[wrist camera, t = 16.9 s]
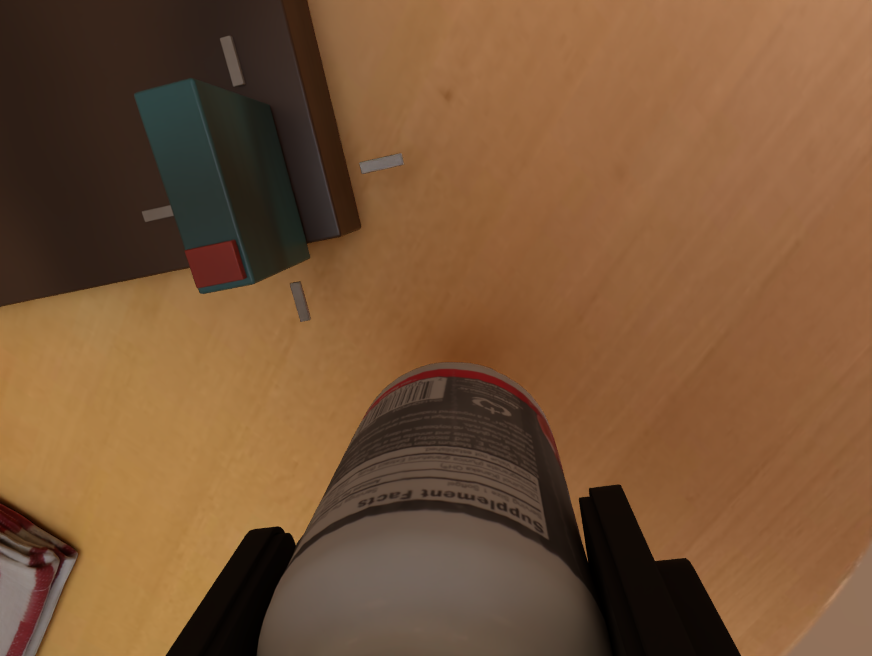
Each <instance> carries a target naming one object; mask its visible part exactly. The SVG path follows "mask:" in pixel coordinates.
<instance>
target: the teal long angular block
mask: <svg viewBox="0 0 872 656" xmlns="http://www.w3.org/2000/svg"><path fill="white" fill-rule="evenodd" d="M134 98H135V101H136V104H137V107H138V110H139V113H140V116H141V119H142V122H143V125H144V128H145V131H146V134H147V137H148V140H149V143H150V146H151V149H152V152H153V155H154V158H155V161H156V164H157V167H158V170H159V173H160V176H161V179H162V182H163V185H164V188H165V191H166V194H167V197H168V200H169V203H170V206H171V209H172V212H173V215H174V218H175V221H176V224H177V227H178V230H179V233H180V236H181V239H182V242H183V245H184V248H185V254H186V257H187V260H188V263H189V266H190V269H191V272H192V275H193V278H194V281H195V284H196V287H197V288H198V290H199V292H200V293H201V294H206V293H211V292H216V291H222V290H227V289H232V288H237V287H242V286H247V285H252V284H255V283H257V282H260V281H262V280H264V279H266V278H268V277H270V276H273V275H275V274H277V273H279V272H281V271H283V270H286V269H288V268H290V267H292V266H294V265H297V264H299V263H301V262H303V261H305V260H307V259H309V258H310V254H309V250H308V246H307V243H306V239H305V235H304V231H303V228H302V224H301V220H300V217H299V213H298V209H297V205H296V202H295V198H294V194H293V191H292V187H291V183H290V179H289V176H288V172H287V168H286V165H285V161H284V157H283V153H282V150H281V146H280V142H279V139H278V135H277V131H276V128H275V124H274V120H273V116H272V113H271V109H270V106H269V104H266V103H263V102H260V101H257V100H255V99H252V98H249V97H246V96H243V95H240V94H237V93H234V92H231V91H228V90H225V89H223V88H220V87H217V86H214V85H211V84H208V83H205V82H202V81H199V80H196V79H193V78H189V79H185V80H181V81H178V82H174V83H170V84H166V85H162V86H159V87H155V88H151V89H147V90H143V91H139V92H136V93H135V94H134Z"/></svg>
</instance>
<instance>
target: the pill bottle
mask: <svg viewBox="0 0 872 656" xmlns="http://www.w3.org/2000/svg"><path fill="white" fill-rule="evenodd" d="M257 656H613V653H612V647H611V642H610V637H609V631H608V626H607V622H606V619H605V616H604V613H603V610H602V607H601V604H600V600H599V597H598V594H597V590H596V587H595V584H594V581H593V578H592V574H591V571H590V568H589V564H588V561H587V558H586V554H585V551H584V548H583V544H582V541H581V537H580V533H579V529H578V526H577V522H576V519H575V514H574V511H573V508H572V504H571V500H570V496H569V492H568V488H567V484H566V481H565V477H564V473H563V469H562V465H561V461H560V457H559V454H558V450H557V447H556V444H555V440H554V437H553V434H552V431H551V428H550V425H549V423H548V420H547V418H546V416H545V414H544V412H543V411H542V409H541V408H540V406H539V405H538V403H537V402H536V401H535V400H534V398H533V397H532V396H531V395H530V394H529V393H528V392H527V391H526V390H525V389H524V388H523V387H522V386H520V385H519V384H518V383H516V382H515V381H513V380H511V379H510V378H508V377H507V376H505V375H503V374H500V373H498V372H496V371H495V370H493V369H491V368H488V367H484V366H481V365H477V364H472V363H462V362H441V363H434V364H429V365H426V366H422V367H420V368H417V369H414V370H412V371H410V372H408V373H406V374H404V375H402V376H400V377H398V378H397V379H396V380H395V381H393V382H392V383H391V384H389V385H388V386H387V387H386V388H385V389H384V390H383V391H382V392H381V393H380V394H379V395H378V396H377V397H376V399H375V400H374V402H373V403H372V404H371V406H370V407H369V409H368V411H367V412H366V415H365V416H364V418H363V420H362V421H361V423H360V425H359V427H358V429H357V431H356V432H355V434H354V436H353V438H352V440H351V443H350V445H349V446H348V448H347V450H346V452H345V454H344V456H343V458H342V460H341V462H340V464H339V466H338V468H337V470H336V472H335V474H334V476H333V478H332V480H331V482H330V484H329V486H328V488H327V490H326V492H325V494H324V496H323V498H322V500H321V502H320V504H319V506H318V507H317V509H316V511H315V513H314V516H313V518H312V519H311V521H310V523H309V525H308V527H307V529H306V531H305V533H304V535H303V536H302V537H301V539H300V540H299V541H298V543H297V545H296V547H295V550H294V553H293V556H292V559H291V561H290V563H289V564H288V566H287V568H286V570H285V572H284V574H283V575H282V577H281V579H280V581H279V583H278V585H277V587H276V589H275V592H274V594H273V597H272V600H271V602H270V605H269V607H268V609H267V612H266V615H265V618H264V621H263V624H262V628H261V632H260V636H259V642H258V649H257Z"/></svg>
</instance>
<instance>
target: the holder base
mask: <svg viewBox="0 0 872 656" xmlns="http://www.w3.org/2000/svg"><path fill="white" fill-rule="evenodd" d="M189 78H193V79H196V80H199V81H202V82H205V83H208V84H211V85H214V86H217V87H220V88H223V89H225V90H228V91H231V92H234V93H237V94H240V95H243V96H246V97H249V98H252V99H255V100H257V101H260V102H263V103H266V104H269V106H270V109H271V113H272V116H273V120H274V124H275V128H276V131H277V135H278V139H279V142H280V146H281V150H282V153H283V157H284V161H285V165H286V168H287V172H288V176H289V179H290V183H291V187H292V191H293V194H294V198H295V202H296V205H297V209H298V213H299V217H300V220H301V224H302V228H303V231H304V235H305V239H306V243H307V244H308V243H313V242H318V241H323V240H327V239H332V238H337V237H341V236H343V235H346V234H348V233H351V232H353V231H356V230H358V229H360V228H361V224H360V220H359V216H358V212H357V208H356V203H355V199H354V195H353V191H352V187H351V183H350V178H349V174H348V170H347V166H346V162H345V158H344V154H343V149H342V145H341V141H340V137H339V133H338V129H337V124H336V120H335V116H334V112H333V108H332V104H331V99H330V95H329V91H328V87H327V83H326V79H325V75H324V70H323V66H322V62H321V58H320V54H319V50H318V45H317V41H316V37H315V33H314V29H313V25H312V21H311V16H310V12H309V8H308V4H307V0H0V307H1V306H6V305H11V304H16V303H20V302H25V301H30V300H35V299H40V298H45V297H50V296H55V295H59V294H64V293H69V292H74V291H79V290H84V289H89V288H94V287H98V286H103V285H108V284H113V283H118V282H123V281H128V280H133V279H137V278H142V277H147V276H152V275H157V274H162V273H167V272H172V271H176V270H181V269H186V268H190V266H189V263H188V260H187V257H186V254H185V248H184V245H183V242H182V239H181V236H180V233H179V230H178V227H177V224H176V221H175V218H174V215H173V212H172V209H171V206H170V203H169V200H168V197H167V194H166V191H165V188H164V185H163V182H162V179H161V176H160V173H159V170H158V167H157V164H156V161H155V158H154V155H153V152H152V149H151V146H150V143H149V140H148V137H147V134H146V131H145V128H144V125H143V122H142V119H141V116H140V113H139V110H138V107H137V104H136V101H135V98H134V94H135V93H136V92H139V91H143V90H147V89H151V88H155V87H159V86H162V85H166V84H170V83H174V82H178V81H181V80H185V79H189ZM359 164H360V168H361V173H362V174H365V173H369V172H374V171H378V170H383V169H387V168H392V167H396V166H401V165H404V161H403V156H402V153H399V154H394V155H390V156H386V157H381V158H377V159H372V160H368V161H363V162H360V163H359ZM290 287H291V290H292V294H293V297H294V301H295V304H296V308H297V311H298V315H299V318H300V322H303V321H308V320H311V317H310V313H309V309H308V306H307V302H306V299H305V295H304V291H303V288H302V284H301V281H299V282H293V283H290Z"/></svg>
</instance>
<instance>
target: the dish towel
mask: <svg viewBox="0 0 872 656" xmlns="http://www.w3.org/2000/svg"><path fill="white" fill-rule="evenodd" d="M77 556H78V553H77V551H76V550H74V549H73V548H72V547H70V546H69V545H67V544H65V543H63V542H62V541H60V540H59V539H57V538H55V537H54V536H52V535H50V534H49V533H47V532H45V531H44V530H42V529H40V528H39V527H37V526H36V525H34V524H33V523H31V522H30V521H29V520H27V519H26V518H25V517H23V516H22V515H20V514H19V513H17V512H15V511H13V510H11V509H9V508H8V507H6V506H4V505H2V504H1V503H0V656H35V655H36V653H37V650H38V648H39V646H40V643H41V641H42V638H43V636H44V634H45V631H46V629H47V627H48V624H49V622H50V620H51V618H52V615H53V612H54V609H55V607H56V604H57V602H58V599H59V597H60V595H61V592H62V589H63V587H64V584H65V582H66V580H67V578H68V576H69V574H70V572H71V570H72V568H73V565H74V563H75V561H76V559H77Z"/></svg>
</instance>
